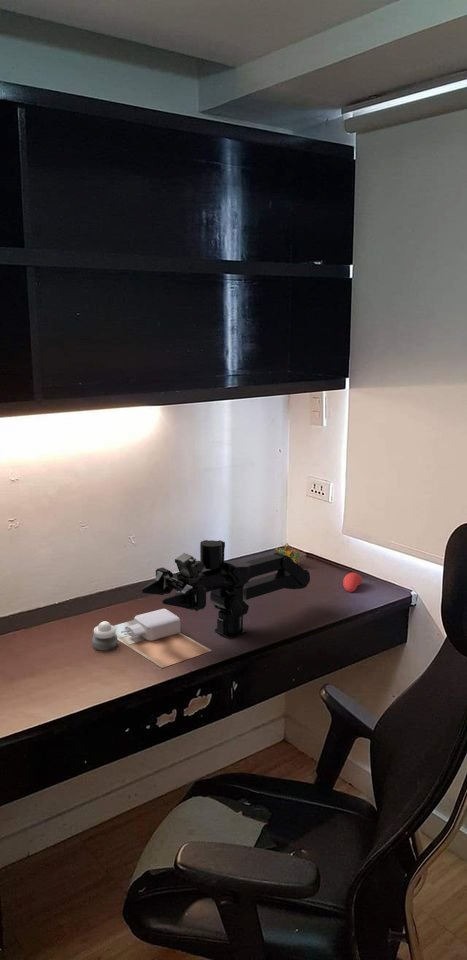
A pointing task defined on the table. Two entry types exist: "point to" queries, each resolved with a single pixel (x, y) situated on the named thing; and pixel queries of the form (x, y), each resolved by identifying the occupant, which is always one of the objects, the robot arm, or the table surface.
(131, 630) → the charger
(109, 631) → the dome
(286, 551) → the figurine
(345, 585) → the stress ball
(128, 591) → the table surface
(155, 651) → the game board
